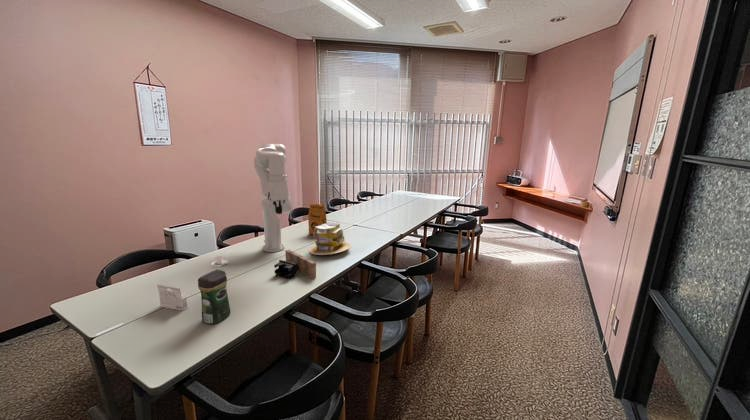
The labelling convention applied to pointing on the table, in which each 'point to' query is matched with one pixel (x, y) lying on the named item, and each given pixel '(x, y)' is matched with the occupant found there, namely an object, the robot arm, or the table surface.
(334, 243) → the stacked tins on plate
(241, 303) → the table surface
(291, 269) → the end cap
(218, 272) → the coffee jar
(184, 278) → the table surface
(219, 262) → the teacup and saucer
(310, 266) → the walnut board
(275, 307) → the table surface
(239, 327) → the table surface
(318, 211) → the coffee package
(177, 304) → the ink cartridge box
